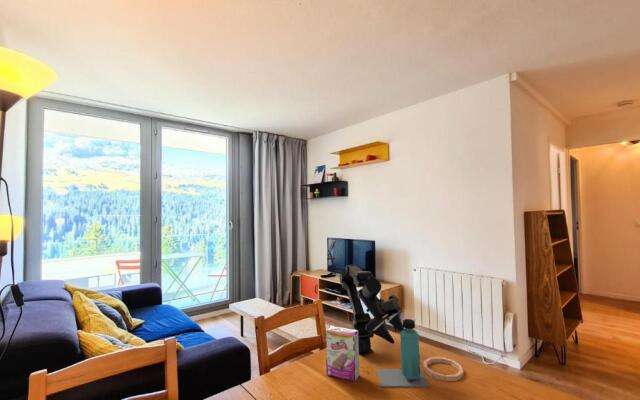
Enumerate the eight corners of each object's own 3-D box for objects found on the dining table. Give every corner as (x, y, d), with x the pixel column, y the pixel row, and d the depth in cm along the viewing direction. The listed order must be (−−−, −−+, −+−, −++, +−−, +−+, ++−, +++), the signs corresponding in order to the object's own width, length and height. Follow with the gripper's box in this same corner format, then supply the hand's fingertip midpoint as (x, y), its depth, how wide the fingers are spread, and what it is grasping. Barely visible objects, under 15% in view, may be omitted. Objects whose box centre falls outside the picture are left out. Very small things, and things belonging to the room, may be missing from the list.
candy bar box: (325, 375, 108) (324, 330, 108) (331, 368, 113) (330, 324, 113) (355, 382, 103) (354, 334, 104) (360, 375, 108) (358, 329, 108)
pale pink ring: (416, 369, 110) (416, 365, 110) (437, 357, 119) (436, 353, 119) (449, 385, 100) (449, 381, 100) (469, 371, 108) (469, 367, 108)
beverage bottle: (422, 384, 100) (420, 324, 101) (401, 383, 101) (400, 323, 102) (419, 373, 107) (417, 317, 107) (400, 372, 108) (398, 316, 108)
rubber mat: (381, 387, 100) (381, 385, 100) (376, 370, 110) (376, 369, 110) (429, 387, 100) (429, 385, 100) (420, 370, 110) (420, 369, 110)
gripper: (372, 295, 105) (403, 336, 98) (396, 284, 119) (424, 318, 112) (353, 313, 110) (381, 353, 103) (378, 300, 124) (405, 333, 117)
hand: (399, 338), depth 108 cm, fingers open, 9 cm apart
